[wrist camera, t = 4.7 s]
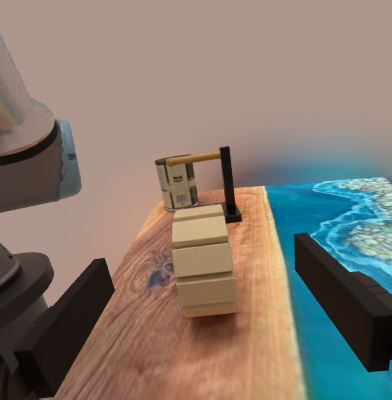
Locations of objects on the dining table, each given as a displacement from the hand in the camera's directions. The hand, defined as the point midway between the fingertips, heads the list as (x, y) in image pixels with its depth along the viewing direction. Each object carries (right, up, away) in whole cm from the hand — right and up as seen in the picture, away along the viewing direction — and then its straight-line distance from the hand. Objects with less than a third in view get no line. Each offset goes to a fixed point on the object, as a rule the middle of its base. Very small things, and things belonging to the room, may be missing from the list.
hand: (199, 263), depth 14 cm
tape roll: (+1, -2, +9) cm, 9 cm away
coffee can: (-4, +3, +47) cm, 47 cm away
